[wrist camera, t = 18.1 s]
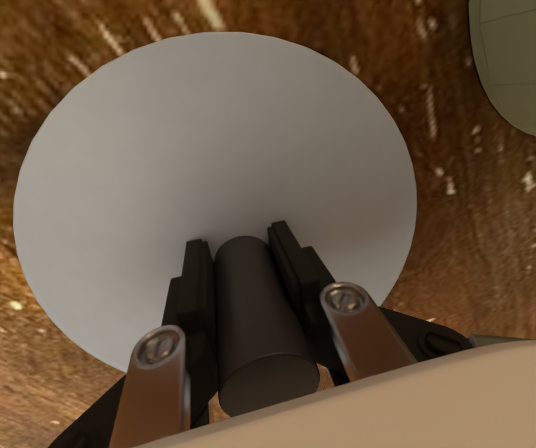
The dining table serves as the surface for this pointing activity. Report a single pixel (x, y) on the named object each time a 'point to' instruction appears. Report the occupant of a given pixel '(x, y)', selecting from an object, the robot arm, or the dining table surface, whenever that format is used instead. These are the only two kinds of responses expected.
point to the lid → (212, 199)
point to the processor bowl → (507, 57)
